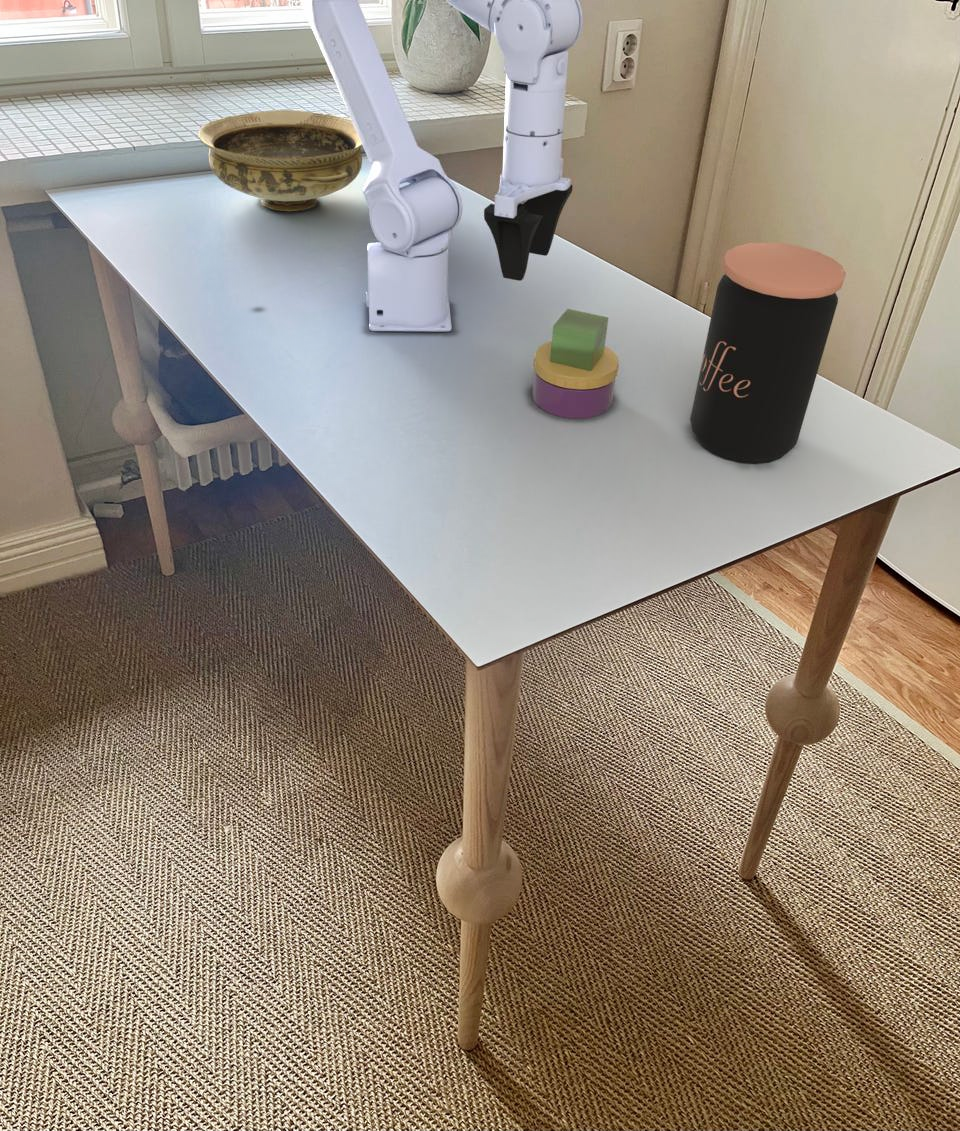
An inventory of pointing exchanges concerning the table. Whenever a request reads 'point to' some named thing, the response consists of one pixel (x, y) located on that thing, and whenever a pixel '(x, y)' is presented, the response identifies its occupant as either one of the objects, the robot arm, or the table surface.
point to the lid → (575, 370)
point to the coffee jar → (764, 350)
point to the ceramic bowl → (284, 155)
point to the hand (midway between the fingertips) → (526, 265)
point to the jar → (572, 399)
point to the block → (578, 339)
